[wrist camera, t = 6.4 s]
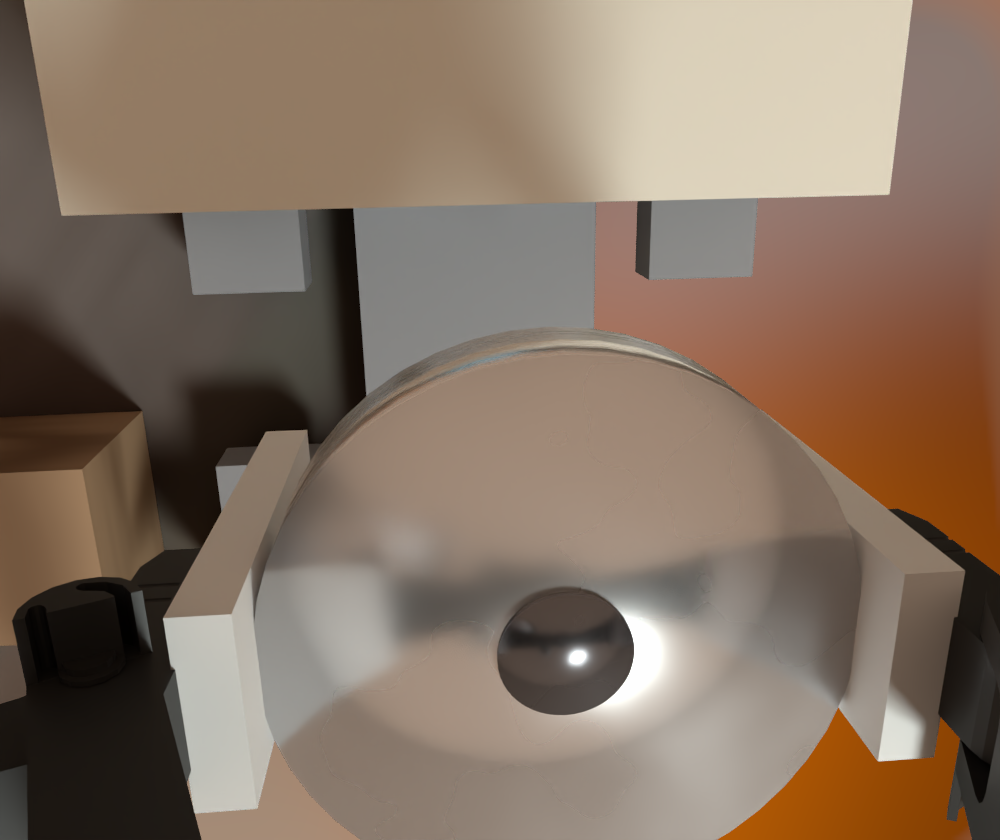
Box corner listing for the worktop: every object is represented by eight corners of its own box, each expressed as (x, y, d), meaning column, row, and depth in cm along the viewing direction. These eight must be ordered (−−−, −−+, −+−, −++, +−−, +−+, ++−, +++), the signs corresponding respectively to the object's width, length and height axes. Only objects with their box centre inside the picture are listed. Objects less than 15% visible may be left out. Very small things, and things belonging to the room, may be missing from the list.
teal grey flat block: (736, 543, 29) (794, 617, 25) (216, 574, 28) (177, 657, 24) (764, 164, 26) (839, 168, 21) (162, 177, 24) (102, 185, 20)
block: (7, 564, 28) (-78, 650, 23) (-26, 418, 26) (-124, 479, 21) (164, 555, 28) (113, 638, 23) (142, 411, 27) (81, 469, 22)
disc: (245, 337, 11) (213, 369, 10) (836, 316, 12) (902, 344, 10) (300, 827, 14) (283, 918, 12) (786, 790, 14) (832, 872, 13)
